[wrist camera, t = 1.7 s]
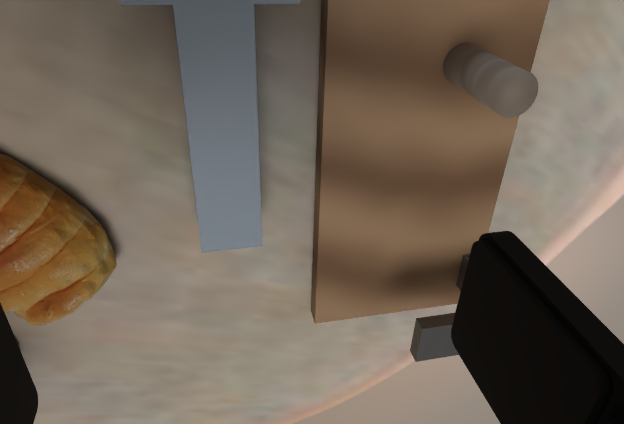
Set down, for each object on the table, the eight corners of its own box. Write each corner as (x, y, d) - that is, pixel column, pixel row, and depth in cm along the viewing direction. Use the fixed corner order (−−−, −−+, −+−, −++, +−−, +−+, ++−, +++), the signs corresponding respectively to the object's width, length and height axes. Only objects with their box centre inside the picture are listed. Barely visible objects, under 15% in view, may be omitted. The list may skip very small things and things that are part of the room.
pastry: (-116, 182, 23) (-164, 226, 20) (5, 110, 22) (-25, 144, 19) (35, 303, 28) (16, 354, 25) (135, 247, 28) (129, 292, 24)
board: (323, -42, 21) (364, -26, 17) (543, -40, 24) (638, -25, 19) (310, 310, 33) (333, 383, 28) (461, 290, 35) (507, 354, 30)
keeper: (379, 252, 31) (422, 329, 26) (473, 241, 33) (533, 312, 27) (376, 282, 33) (415, 361, 27) (466, 271, 34) (522, 344, 28)
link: (98, -215, 17) (80, -238, 14) (284, -201, 18) (303, -220, 15) (166, 218, 27) (163, 256, 24) (285, 207, 28) (297, 242, 25)
